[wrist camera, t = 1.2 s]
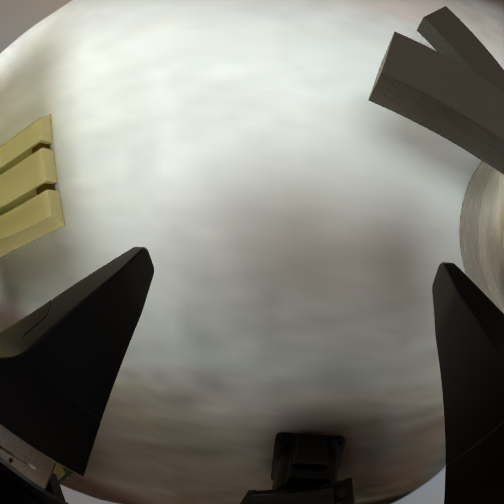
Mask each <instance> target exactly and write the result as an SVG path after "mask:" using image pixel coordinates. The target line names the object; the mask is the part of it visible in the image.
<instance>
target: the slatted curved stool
mask: <svg viewBox="0 0 504 504" xmlns="http://www.w3.org/2000/svg"><path fill="white" fill-rule="evenodd" d="M52 143H53V138H52V125H51V114H50V115H48V116H46V117H41V118H39V119H38V120H36V121H35V122H33V123H32V124H31V125H29V126H28V127H27V128H25V129H24V130H22V131H21V132H20V133H18V134H17V135H16V136H14V137H13V138H12V139H10V140H9V141H8V142H6V143H5V144H3V145H2V146H1V147H0V257H1V256H4V255H6V254H8V253H10V252H12V251H14V250H16V249H17V248H19V247H21V246H23V245H25V244H27V243H29V242H31V241H34V240H36V239H38V238H40V237H42V236H44V235H46V234H48V233H50V232H52V231H54V230H57V229H59V228H61V227H63V226H65V222H64V217H63V211H62V206H61V200H60V194H59V191H56V190H54V184H56V183H58V181H57V173H56V166H55V157H54V150H50V149H49V145H50V144H52ZM35 195H37V196H35ZM33 196H35V197H33ZM32 197H33V198H32ZM30 198H32V199H30ZM29 199H30V200H29ZM27 200H28V201H27ZM25 201H27V202H25ZM24 202H25V203H24ZM22 203H23V204H22ZM20 204H21V205H20ZM19 205H20V206H19ZM17 206H18V207H17Z"/></svg>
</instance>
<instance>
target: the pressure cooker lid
mask: <svg viewBox="0 0 504 504" xmlns="http://www.w3.org/2000/svg"><path fill="white" fill-rule="evenodd" d="M369 101H371V102H374V103H376V104H378V105H381V106H383V107H385V108H387V109H389V110H391V111H394V112H396V113H398V114H400V115H402V116H404V117H406V118H408V119H410V120H412V121H414V122H416V123H418V124H420V125H422V126H424V127H426V128H428V129H429V130H431V131H433V132H435V133H437V134H439V135H440V136H442V137H444V138H446V139H447V140H449V141H451V142H453V143H454V144H456V145H458V146H460V147H461V148H463V149H465V150H466V151H468V152H469V153H471V154H473V155H474V156H476V157H477V158H479V159H481V160H482V161H484V162H485V163H487V164H488V165H490V166H491V167H493V168H494V169H496V170H497V171H499V172H500V173H502V174H503V175H504V92H502V91H501V90H499V89H498V88H497V87H495V86H494V85H492V84H491V83H489V82H488V81H486V80H485V79H483V78H481V77H480V76H478V75H477V74H475V73H473V72H472V71H470V70H469V69H467V68H465V67H464V66H462V65H460V64H458V63H457V62H455V61H453V60H451V59H450V58H448V57H446V56H444V55H442V54H440V53H438V52H437V51H435V50H433V49H431V48H429V47H427V46H425V45H423V44H421V43H419V42H416V41H414V40H412V39H410V38H408V37H406V36H403V35H401V34H399V33H397V32H394V34H393V37H392V39H391V42H390V44H389V46H388V49H387V51H386V53H385V56H384V58H383V60H382V63H381V66H380V68H379V71H378V74H377V77H376V80H375V83H374V86H373V89H372V91H371V94H370V97H369Z"/></svg>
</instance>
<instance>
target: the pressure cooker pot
mask: <svg viewBox="0 0 504 504" xmlns="http://www.w3.org/2000/svg"><path fill="white" fill-rule="evenodd" d="M417 31H418V32H419V33H420V34H421V35H422V36H423V37H424V38H425V39H426V40H427V41H428V42H429V43H430V44H431V45H432V46H433V47H434V48H435V50H436V51H437V52H438V53H440V54H442V55H444V56H446V57H448V58H450V59H451V60H453V61H455V62H457V63H458V64H460V65H462V66H464V67H465V68H467V69H469V70H470V71H472V72H473V73H475V74H477V75H478V76H480V77H481V78H483V79H485V80H486V81H488V82H489V83H491V84H492V85H494V86H495V87H497V88H498V89H499V90H501V91H502V92H504V70H503V69H502V67H501V66H500V65H499V64H498V62H497V61H496V60H495V59H494V57H493V56H492V55H491V54H490V52H489V51H488V50H487V49H486V48H485V47H484V45H483V44H482V43H481V42H480V41H479V40H478V39H477V38H476V36H475V35H474V34H473V33H472V32H471V31H470V30H469V29H468V28H467V27H466V26H465V25H464V24H463V23H462V22H461V21H460V19H459V18H458V17H457V16H456V15H455V14H453V13H452V12H451V11H450V10H449V9H448V8H447V7H446V6H445V7H443V8H441V9H439V10H437V11H435V12H433V13H431V14H429V15H427V16H425V17H424V18H423V19H422V21H421V23H420V25H419V27H418V29H417ZM460 246H461V254H462V259H463V264H464V268H465V271H466V274H467V277H468V278H469V279H470V280H472V281H473V282H474V283H475V284H476V285H477V286H478V287H479V288H480V290H481V291H482V292H483V293H484V294H485V295H486V296H487V297H488V298H489V299H490V300H491V301H492V302H493V303H494V304H495V305H496V306H497V307H498V308H499V309H500V310H501V311H502V313H503V314H504V175H503V174H502V173H500V172H499V171H497V170H496V169H494V168H493V167H491V166H490V165H488V164H487V163H485V162H484V161H483V162H482V163H481V164H480V165H479V167H478V168H477V170H476V171H475V172H474V174H473V176H472V178H471V180H470V182H469V185H468V187H467V190H466V193H465V196H464V200H463V204H462V211H461V217H460Z"/></svg>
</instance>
